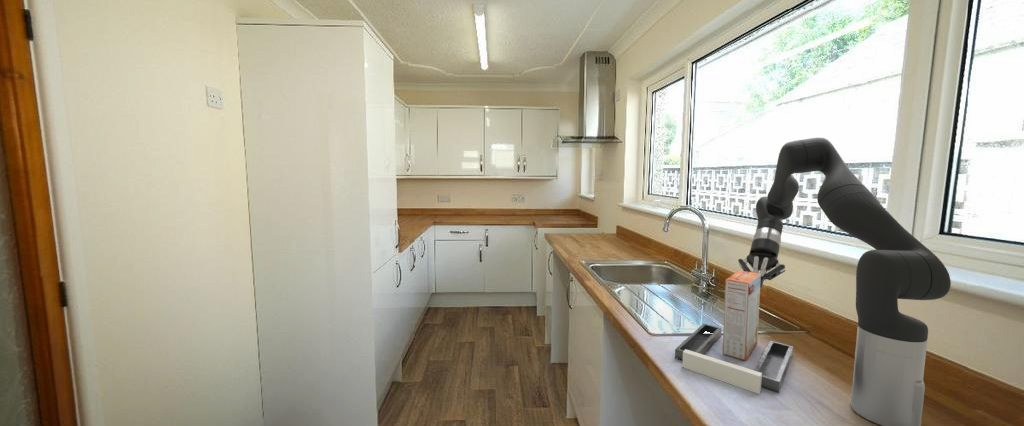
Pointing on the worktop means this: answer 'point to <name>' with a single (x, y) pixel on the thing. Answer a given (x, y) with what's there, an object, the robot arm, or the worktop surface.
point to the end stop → (722, 371)
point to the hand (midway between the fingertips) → (755, 288)
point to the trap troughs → (769, 364)
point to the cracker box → (741, 314)
